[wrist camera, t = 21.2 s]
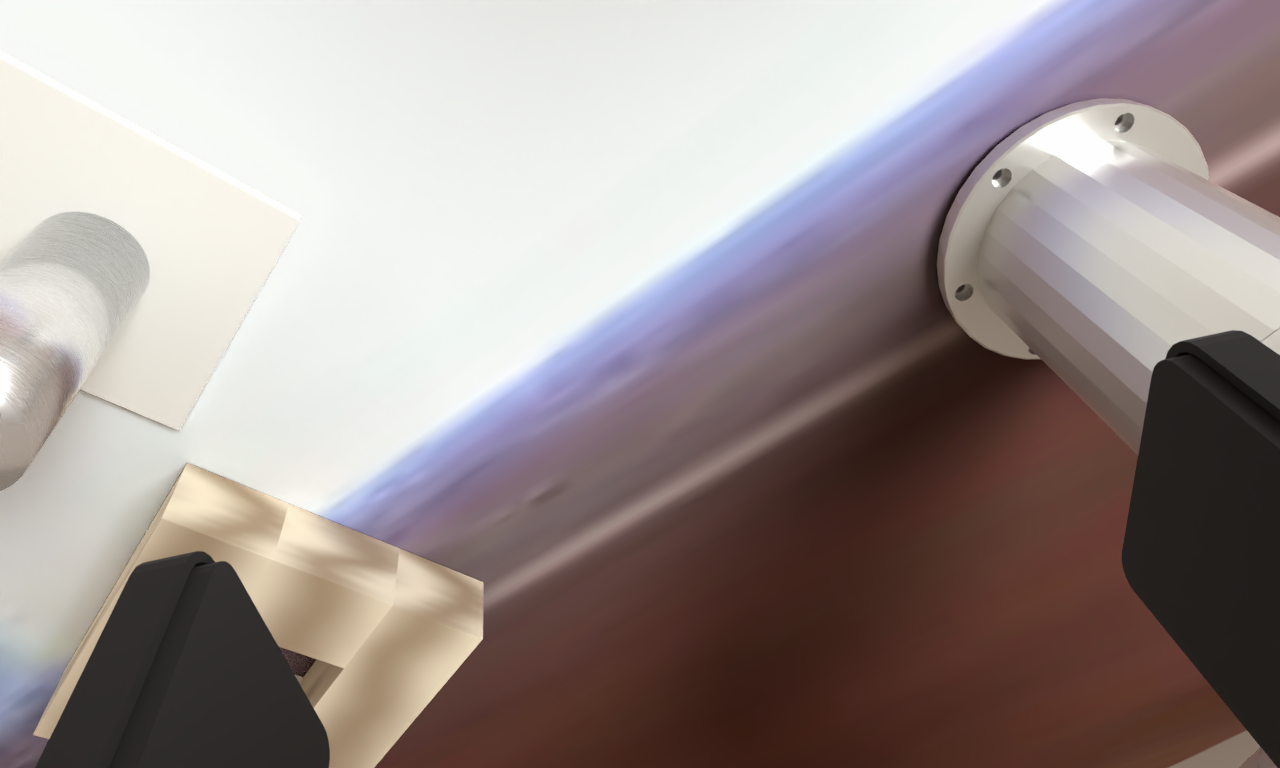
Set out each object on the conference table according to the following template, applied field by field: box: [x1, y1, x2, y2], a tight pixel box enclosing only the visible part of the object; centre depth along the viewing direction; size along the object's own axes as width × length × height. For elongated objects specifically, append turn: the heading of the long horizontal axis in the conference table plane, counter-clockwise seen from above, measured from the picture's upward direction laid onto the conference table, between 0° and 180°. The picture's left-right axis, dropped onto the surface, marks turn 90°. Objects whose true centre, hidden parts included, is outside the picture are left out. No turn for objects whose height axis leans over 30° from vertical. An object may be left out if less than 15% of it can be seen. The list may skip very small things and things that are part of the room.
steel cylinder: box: [0, 212, 150, 491], centre depth 31 cm, size 4×4×12 cm
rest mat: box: [0, 51, 303, 431], centre depth 37 cm, size 12×12×1 cm
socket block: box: [33, 463, 483, 768], centre depth 47 cm, size 16×16×4 cm
